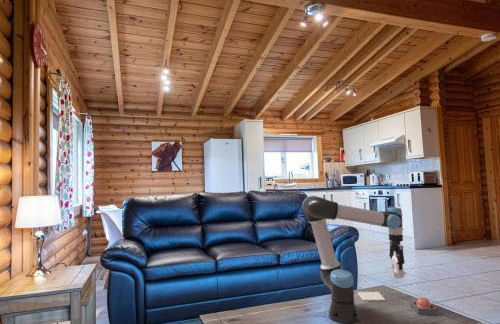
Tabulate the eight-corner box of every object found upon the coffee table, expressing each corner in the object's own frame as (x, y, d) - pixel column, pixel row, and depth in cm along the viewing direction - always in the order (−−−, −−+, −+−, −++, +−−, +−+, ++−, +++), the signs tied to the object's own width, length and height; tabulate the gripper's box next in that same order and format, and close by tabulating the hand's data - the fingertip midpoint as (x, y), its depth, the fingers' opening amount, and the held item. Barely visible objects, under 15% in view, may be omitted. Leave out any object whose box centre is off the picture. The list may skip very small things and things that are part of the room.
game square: (363, 300, 194) (363, 299, 194) (357, 292, 207) (357, 291, 207) (385, 300, 193) (385, 299, 193) (378, 292, 206) (378, 291, 206)
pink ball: (420, 313, 174) (419, 300, 175) (414, 308, 181) (413, 295, 182) (433, 313, 174) (432, 300, 174) (427, 308, 181) (426, 295, 181)
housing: (418, 314, 173) (418, 308, 173) (410, 307, 183) (410, 301, 183) (437, 314, 172) (437, 308, 173) (428, 307, 182) (428, 301, 183)
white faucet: (400, 274, 194) (399, 249, 195) (407, 279, 185) (406, 253, 185) (388, 274, 195) (387, 249, 195) (394, 279, 185) (393, 253, 186)
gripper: (410, 237, 180) (411, 278, 179) (395, 230, 202) (396, 267, 201) (396, 237, 180) (397, 278, 179) (382, 230, 202) (384, 267, 201)
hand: (397, 272), depth 190 cm, fingers closed on white faucet, 9 cm apart
